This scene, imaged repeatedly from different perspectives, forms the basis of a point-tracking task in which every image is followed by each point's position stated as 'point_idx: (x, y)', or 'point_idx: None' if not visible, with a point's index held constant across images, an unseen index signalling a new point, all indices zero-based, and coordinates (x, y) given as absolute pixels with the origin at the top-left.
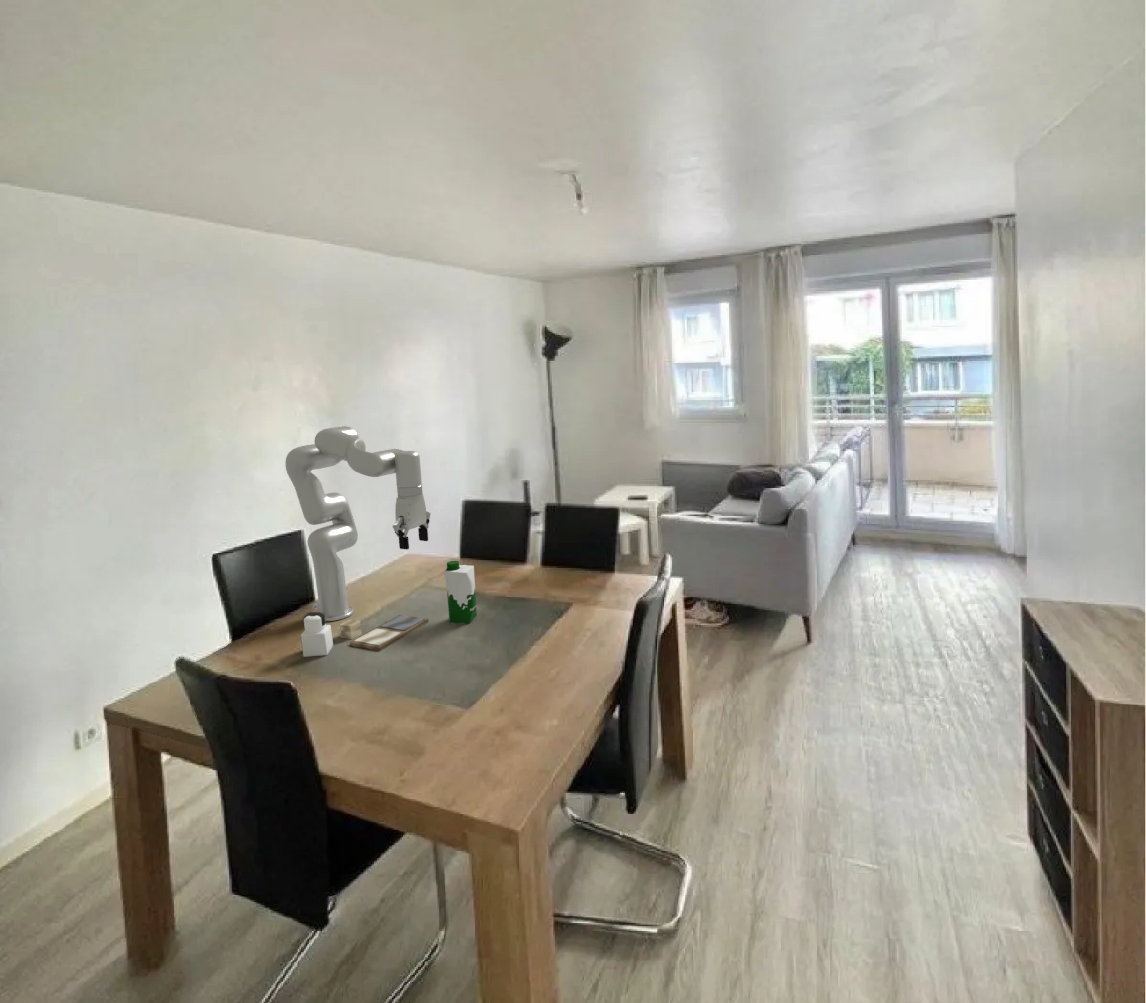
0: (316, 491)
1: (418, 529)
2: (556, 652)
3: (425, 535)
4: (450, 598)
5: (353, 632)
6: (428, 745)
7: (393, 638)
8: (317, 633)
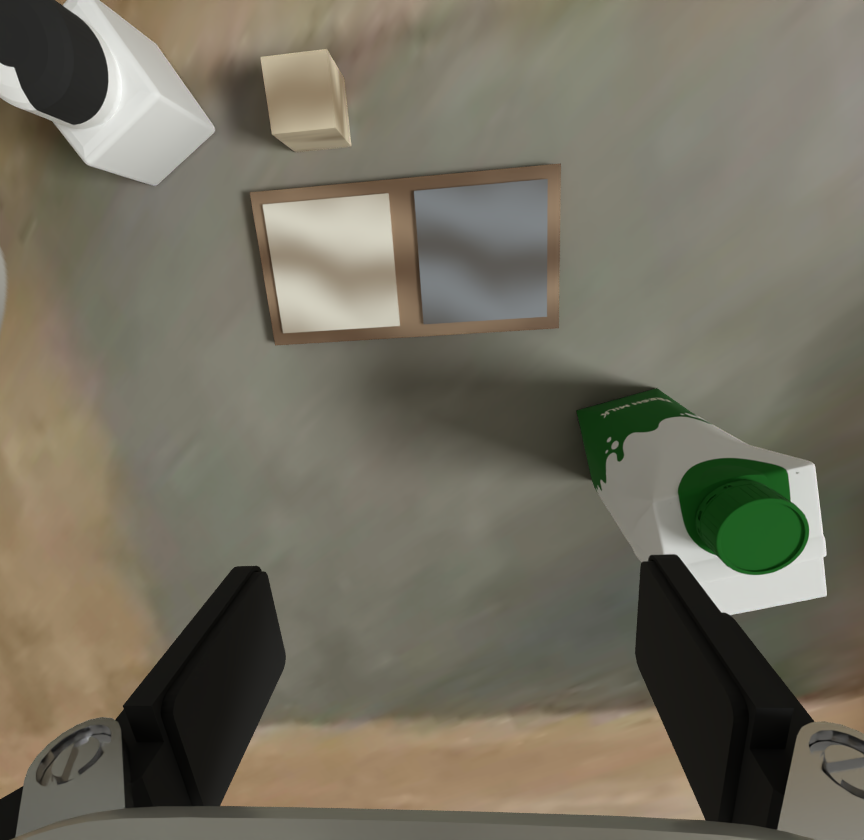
0: None
1: (727, 701)
2: (496, 773)
3: (668, 717)
4: (600, 464)
5: (298, 143)
6: (60, 727)
7: (353, 334)
8: (65, 132)
